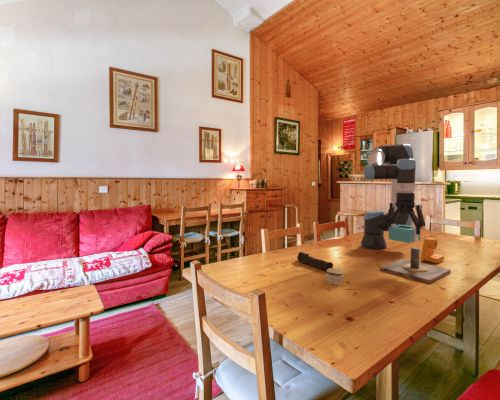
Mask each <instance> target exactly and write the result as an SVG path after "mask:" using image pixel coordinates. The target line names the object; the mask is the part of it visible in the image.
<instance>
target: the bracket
mask: <svg viewBox="0 0 500 400" xmlns="http://www.w3.org/2000/svg"><path fill="white" fill-rule="evenodd" d="M437 248H438V239H437V238H432V237H425V238H424V239H423V243H422V250H421V254H420V260H421V261H424V260H425V262H430V263H435V264H439V263H442V262H443V260H445V255H443V254H437V253H435V251H434V250H436V249H437Z"/></svg>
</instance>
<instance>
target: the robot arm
mask: <svg viewBox="0 0 500 400" xmlns="http://www.w3.org/2000/svg"><path fill="white" fill-rule="evenodd" d="M413 150H414V149H413V147H412V145H411V144H409V143H399V144H398V143H397V144H384V145H379V146H377V147H375V148H373V149H372V150H371V151H369V153H368V156H367V161H368V164H367V165H365V166H364V169H363V170H364V172H363V175H364V176H363V177H364V179H365V180H391V182H390V183H391V188H390V189H391V190H390V191H391V192H390V193H391V194H390V202H389V208H388V210H387V212H385V211H384V210H383V209H380V210H379V209H377V210H370V211H369V210H368V211H366V212H365V213H364V217H363V222H364V223H363V224H364V225H363V228H364V229H363V236H362V239H361V242H360V247H362V248H365V249H370V250H385V249H387V242H386V238H385V233H384V232H389V227H391V226H396V225H406V226H412V223H413V224H414V238H413V241H414V242H413V243H415V242H419V240H418V235H419V234H420V235H421V232H420V228H422V227H425V226H426V222H425V219H424V214H423V210H422V208H423V205H422V204H417V203H415V199H416V198H415V195H416V194H415V191H416V168H417V165H416V161H417V160H416V159H415V158H414V151H413ZM414 209H415V210H416V214H415V211H414ZM416 215H417V216H416Z"/></svg>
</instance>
